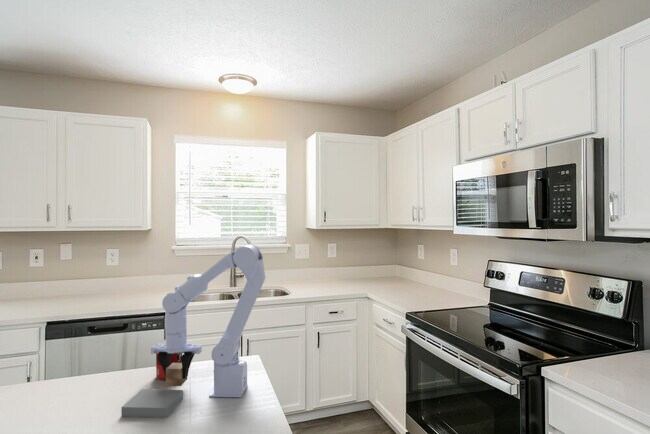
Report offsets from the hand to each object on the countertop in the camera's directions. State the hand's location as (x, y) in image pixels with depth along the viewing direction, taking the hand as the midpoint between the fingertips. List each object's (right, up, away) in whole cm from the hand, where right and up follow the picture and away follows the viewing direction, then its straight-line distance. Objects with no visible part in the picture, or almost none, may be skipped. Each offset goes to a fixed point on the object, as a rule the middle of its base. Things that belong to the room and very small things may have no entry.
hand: (176, 377), depth 111 cm
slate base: (-3, -4, -9) cm, 11 cm away
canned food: (-7, -4, +11) cm, 13 cm away
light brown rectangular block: (0, -2, 0) cm, 2 cm away
